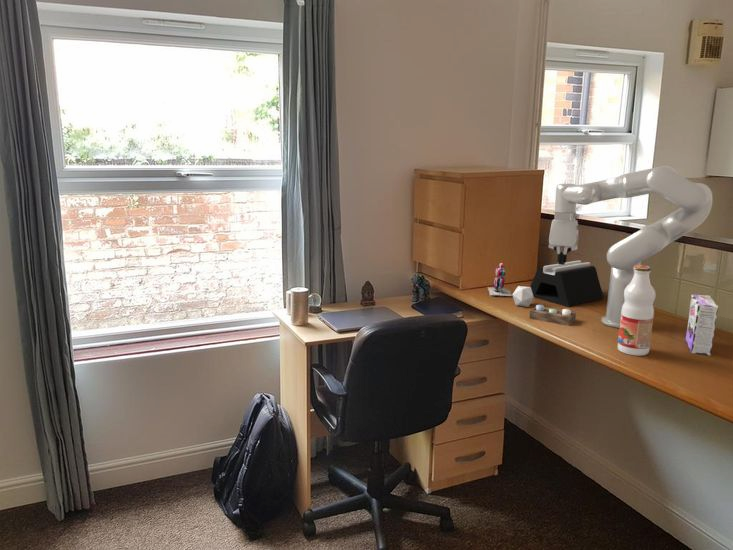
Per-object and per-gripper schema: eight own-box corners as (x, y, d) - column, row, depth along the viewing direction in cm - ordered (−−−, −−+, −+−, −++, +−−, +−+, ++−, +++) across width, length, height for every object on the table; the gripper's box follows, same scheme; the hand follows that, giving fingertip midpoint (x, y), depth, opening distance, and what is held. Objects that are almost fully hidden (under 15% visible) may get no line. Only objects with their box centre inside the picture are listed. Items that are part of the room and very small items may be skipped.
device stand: (526, 295, 254) (528, 262, 250) (560, 288, 266) (563, 256, 262) (568, 308, 235) (571, 272, 232) (603, 300, 247) (606, 266, 244)
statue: (511, 300, 251) (515, 267, 246) (490, 299, 251) (493, 266, 246) (508, 290, 261) (511, 259, 256) (487, 289, 262) (489, 258, 256)
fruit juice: (651, 357, 181) (661, 270, 174) (618, 354, 184) (627, 268, 177) (646, 347, 189) (656, 264, 183) (615, 344, 192) (624, 262, 186)
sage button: (557, 318, 220) (558, 309, 219) (555, 320, 217) (555, 311, 217) (549, 316, 221) (550, 308, 221) (547, 318, 219) (547, 309, 218)
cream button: (571, 318, 217) (571, 309, 216) (568, 320, 214) (569, 311, 214) (563, 317, 218) (563, 308, 218) (560, 319, 216) (561, 310, 215)
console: (575, 320, 218) (576, 312, 218) (569, 325, 212) (570, 317, 211) (536, 313, 227) (537, 306, 226) (529, 318, 220) (529, 310, 220)
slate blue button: (544, 314, 222) (545, 305, 222) (542, 316, 220) (542, 307, 219) (537, 312, 224) (537, 304, 223) (534, 314, 222) (535, 306, 221)
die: (535, 305, 240) (525, 285, 243) (539, 300, 232) (529, 279, 234) (517, 313, 240) (507, 292, 242) (521, 308, 231) (510, 286, 234)
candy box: (684, 339, 197) (691, 293, 193) (704, 342, 195) (711, 295, 191) (690, 353, 185) (697, 303, 181) (711, 355, 183) (719, 305, 179)
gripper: (587, 216, 218) (584, 264, 222) (547, 214, 226) (544, 260, 230) (583, 218, 212) (579, 267, 216) (542, 216, 220) (539, 264, 224)
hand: (561, 263), depth 223 cm, fingers closed
